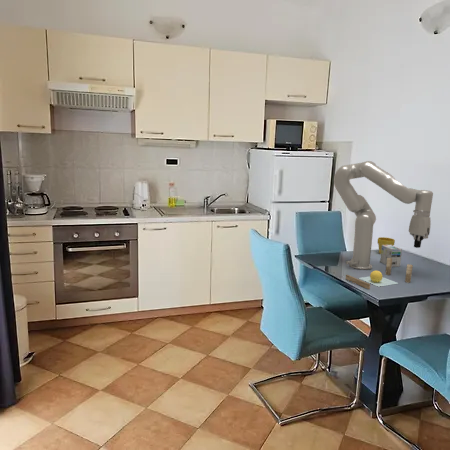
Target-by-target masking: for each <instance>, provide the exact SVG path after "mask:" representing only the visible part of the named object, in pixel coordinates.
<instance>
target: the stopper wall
mask: <svg viewBox="0 0 450 450" xmlns="http://www.w3.org/2000/svg"><path fill="white" fill-rule="evenodd" d="M346 279H347V280H346ZM345 280H346V281H348V280H349V281H348V282H350V281H352V282H351V283H353V284H355V283H356V284H355V285H357V284H358V285H357V286H359V285H360V287H361V288H362V287H363V288H365V289H366V288H367V290H370V289H371V284H370V283H368V282H365V281H363V280H361V279H358V277H354V276H352V275H349V274H345Z"/></svg>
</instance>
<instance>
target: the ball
mask: <svg viewBox="0 0 450 450" xmlns="http://www.w3.org/2000/svg"><path fill="white" fill-rule="evenodd" d="M369 276H370V278H371V280H372V281H373V282H380V281H381V280H382V278H383V274H382V272H381V271H379V270H373V271H371V272H370V275H369Z"/></svg>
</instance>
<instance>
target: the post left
mask: <svg viewBox="0 0 450 450" xmlns="http://www.w3.org/2000/svg"><path fill="white" fill-rule="evenodd" d="M391 266H392V258H387V264H386V265H385V272H384V273H385V275H387V276H391V273H392V267H391Z"/></svg>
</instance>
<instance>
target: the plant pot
mask: <svg viewBox="0 0 450 450" xmlns="http://www.w3.org/2000/svg"><path fill="white" fill-rule="evenodd" d="M395 242H396V240H395V239H394V238H392V237H385V236H383V237H381V236H380V237H378V238H377V244H378V252H379V254H380V255H381V249H382V245H392V246H395V244H396V243H395Z"/></svg>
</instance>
